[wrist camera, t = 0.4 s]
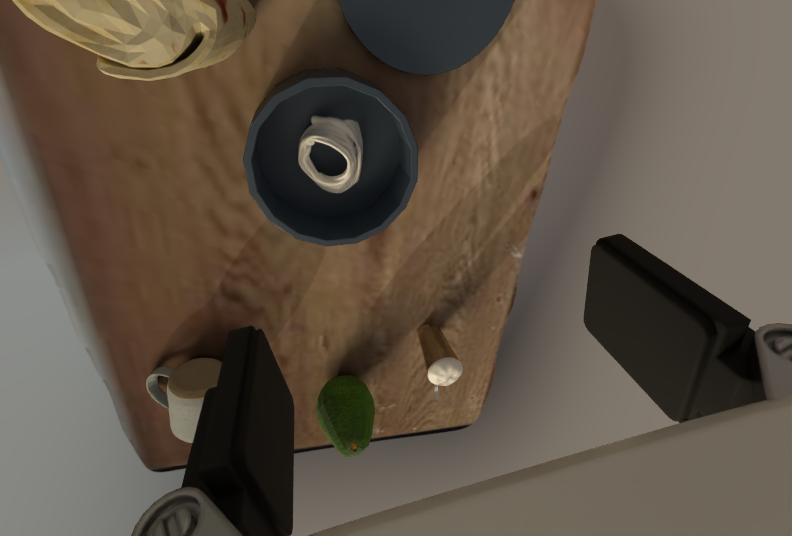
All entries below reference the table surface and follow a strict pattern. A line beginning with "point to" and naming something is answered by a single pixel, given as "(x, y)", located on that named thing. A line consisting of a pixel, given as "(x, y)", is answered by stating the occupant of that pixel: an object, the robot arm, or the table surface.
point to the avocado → (346, 414)
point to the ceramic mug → (185, 392)
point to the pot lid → (425, 30)
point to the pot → (330, 158)
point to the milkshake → (438, 356)
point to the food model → (147, 32)
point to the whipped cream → (340, 139)
